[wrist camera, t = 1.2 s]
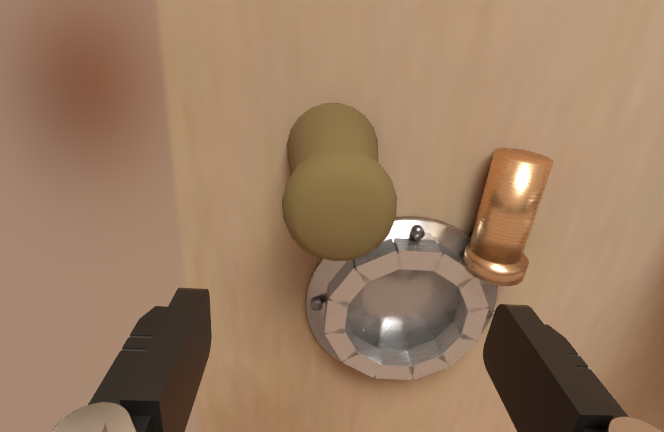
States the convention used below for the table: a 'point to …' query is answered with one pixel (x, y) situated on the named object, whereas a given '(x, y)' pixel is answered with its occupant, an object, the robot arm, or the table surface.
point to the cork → (337, 185)
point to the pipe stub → (506, 216)
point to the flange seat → (401, 303)
